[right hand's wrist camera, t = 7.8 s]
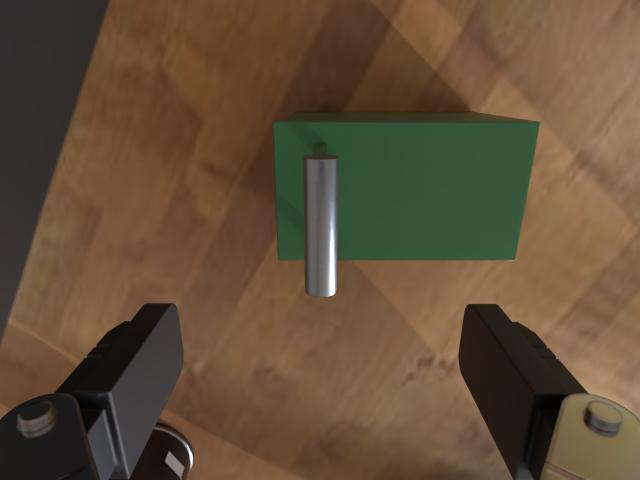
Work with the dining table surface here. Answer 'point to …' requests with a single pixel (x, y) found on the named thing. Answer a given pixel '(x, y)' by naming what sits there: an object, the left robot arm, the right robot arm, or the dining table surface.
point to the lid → (399, 191)
